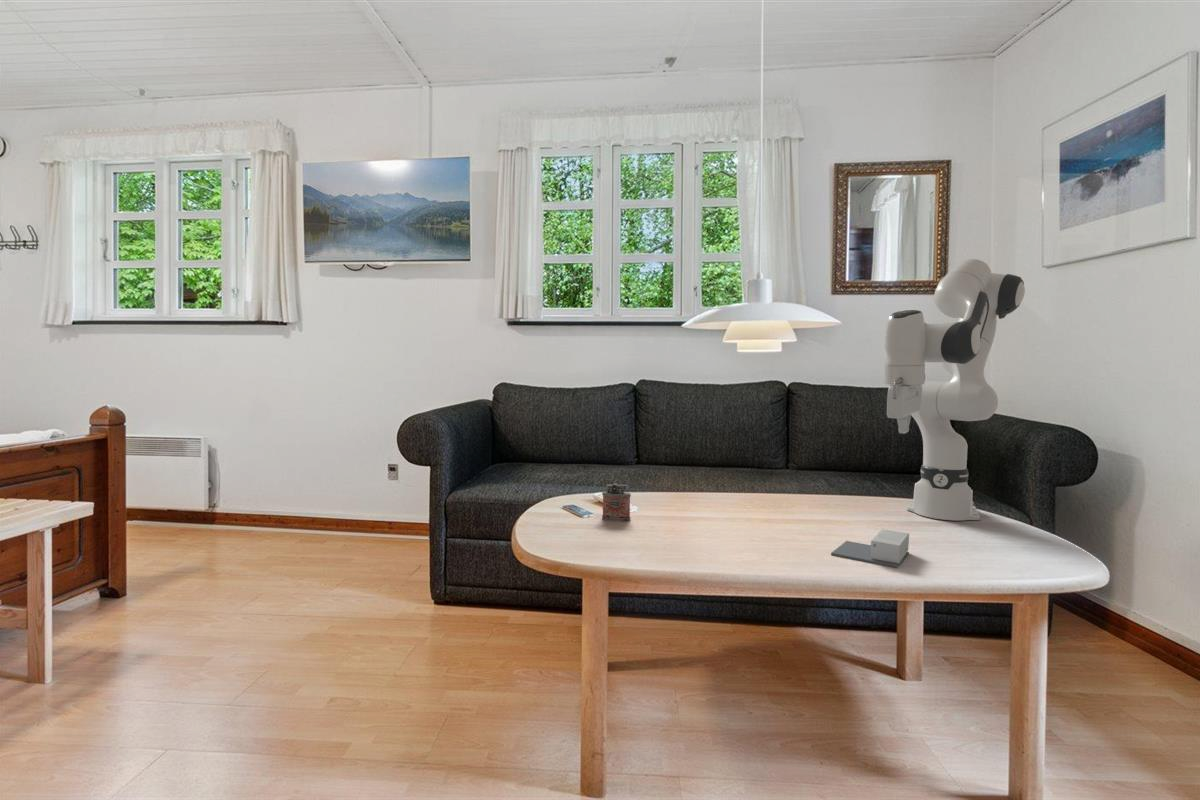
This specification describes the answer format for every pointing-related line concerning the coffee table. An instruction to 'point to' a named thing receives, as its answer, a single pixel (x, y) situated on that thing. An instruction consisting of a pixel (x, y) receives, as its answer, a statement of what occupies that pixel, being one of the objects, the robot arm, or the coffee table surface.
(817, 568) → the coffee table surface
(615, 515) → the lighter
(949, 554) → the coffee table surface
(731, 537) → the coffee table surface
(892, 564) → the mat
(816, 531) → the coffee table surface
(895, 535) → the skincare box
